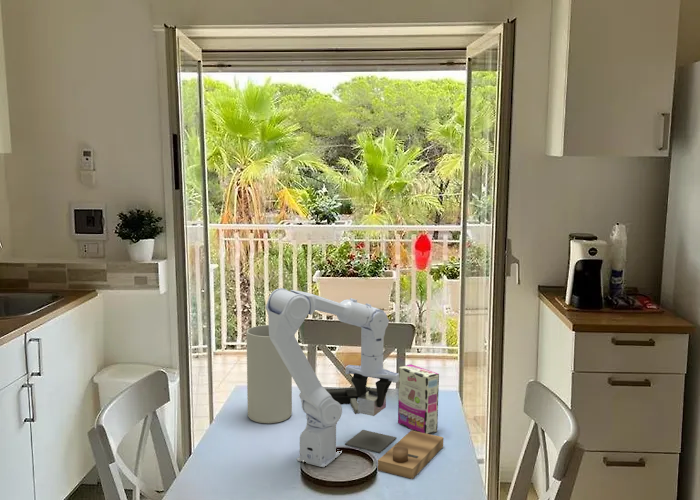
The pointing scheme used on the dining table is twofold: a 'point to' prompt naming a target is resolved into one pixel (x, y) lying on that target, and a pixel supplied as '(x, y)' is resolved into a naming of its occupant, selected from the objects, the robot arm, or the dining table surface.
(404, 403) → the candy bar box
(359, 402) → the off-white rectangular block
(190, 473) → the dining table surface
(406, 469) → the wooden board with knob
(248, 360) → the cylinder vase
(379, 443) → the mat
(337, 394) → the black two-tone device
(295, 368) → the robot arm
